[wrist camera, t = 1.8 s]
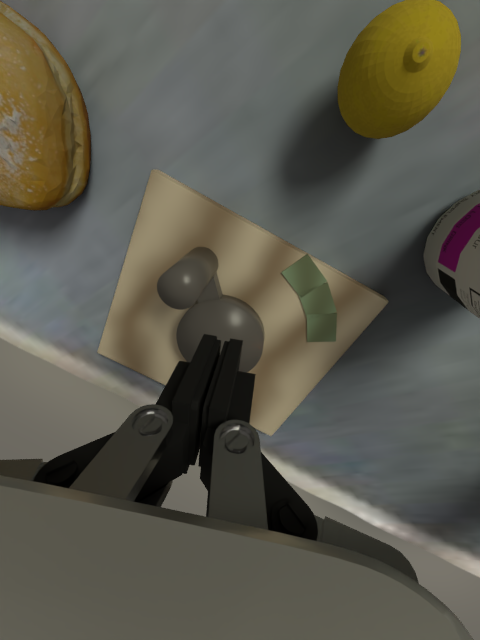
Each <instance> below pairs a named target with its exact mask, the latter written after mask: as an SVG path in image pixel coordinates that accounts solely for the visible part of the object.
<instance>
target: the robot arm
mask: <svg viewBox="0 0 480 640" xmlns="http://www.w3.org/2000/svg"><path fill="white" fill-rule="evenodd" d="M242 345H243V340H237V339H231V338H230V341H225V342H224V345H223V348H222V351H221V354H220V349H221V340H217V336H214V335H208V334H204V335H203V337H202V339H201V341H200V343H199V345H198V347H197V349H196V352H195V354H194V356H193V358H192V360H191V362H185V361H179V362H178V364H177V365H176V367H175V369H174V371H173V373H172V375H171V377H170V378H169V380H168V382H167V384H166V386H165V388H164V390H163V392H162V393H161V395H160V397H159V399H158V401H157V403H156V405H146V406H142V407H140V408H138V409H136V410H135V411H134V412H133V413H132V414H130V416H129V417H128V418H127V419H126V421H125V422H124V423H123V424H122V425H121V427H120V428H119V429H118V430H117V431H116V432H114V433H112V434H110V435H107V436H105V437H102V438H100V439H97V440H95V441H93V442H90V443H88V444H86V445H83V446H81V447H79V448H76V449H74V450H72V451H69V452H67V453H64V454H62V455H60V456H58V457H56V458H54V459H52V460H50V461H49V462H43V460H42V459H23V460H22V459H20V460H0V640H474V639H473V638H472V636H471V635H470V633H469V632H468V631H467V629H466V628H465V626H464V625H463V624H462V622H461V621H460V620H459V619H458V618H457V616H456V615H455V614H454V613H453V612H452V611H451V610H450V609H449V608H448V607H447V606H446V605H445V604H444V603H443V602H441V601H440V600H439V599H438V598H437V597H435V596H434V595H433V594H432V593H431V592H429V591H428V590H427V589H425V588H424V587H422V586H421V585H420V584H419V583H418V579H417V576H416V573H415V571H414V569H413V568H412V566H411V564H410V562H409V561H408V560H407V559H406V558H405V557H404V555H403V554H402V553H401V552H400V551H398V550H396V549H395V548H393V547H392V546H390V545H388V544H386V543H383V542H381V541H379V540H377V539H374V538H372V537H370V536H368V535H366V534H363V533H361V532H359V531H357V530H355V529H352V528H350V527H348V526H346V525H343V524H341V523H339V522H337V521H335V520H332V519H330V518H328V517H325V519H322V518H320V517H318V516H315V515H314V514H313V512H312V511H311V509H310V508H309V506H308V505H307V504H306V503H305V502H304V501H303V500H302V498H301V497H300V496H299V495H298V494H297V493H296V492H295V490H294V489H293V488H292V487H291V486H290V485H289V484H288V482H287V481H286V480H285V479H284V478H283V477H282V475H281V474H280V473H279V472H278V471H277V470H276V469H275V467H274V466H273V465H272V464H271V463H270V462H269V461H268V459H267V458H266V457H265V456H264V455H263V454H262V453H261V449H260V439H259V435H258V433H257V431H256V430H255V428H254V427H253V426H251V425H250V424H249V423H250V415H251V407H252V399H253V391H254V383H255V375H256V374H253V373H247V372H241V371H239V365H240V358H241V352H242ZM199 449H200V455H199V466H200V467H201V473H200V479H201V481H202V482H203V484H204V485H205V487H206V489H207V490H208V499H207V512H206V517H204V516H200V515H194V514H190V513H185V512H180V511H175V510H171V509H166V508H161V505H162V503H163V502H164V500H165V498H166V496H167V494H168V492H169V490H170V488H171V485H172V481H173V480H174V479H176V478H177V477H179V476H181V475H182V473H184V474H186V473H187V470H188V467H189V465H195V462H196V459H197V455H198V452H199Z"/></svg>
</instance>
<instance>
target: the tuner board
mask: <svg viewBox="0 0 480 640" xmlns="http://www.w3.org/2000/svg"><path fill="white" fill-rule="evenodd" d="M196 247H206V248H209V249H210V250H212V251H213V252H214V253H215V255H216V256H217V259H218V269H217V276H218V279H219V283H220V287H221V290H222V294H223V295H229V296H233V297H236V298H238V299H240V300H242V301H244V302H246V303H247V304H248V305H250V306H251V307H252V308H253V309H254V310H255V311H256V312H257V314H258V315H259V317H260V319H261V321H262V323H263V326H264V332H265V338H264V345H263V352H262V355H261V358H260V360H259V362H258V363H257V364H256V366H255V367H254V368H253V369H251V370H250V371H249V372H247V373H253V374H256V375H255V383H254V391H253V399H252V407H251V415H250V423H249V424H250V425H251V426H253V427H254V428H255V429H257V430H259V431H262V432H264V433H266V434H268V435H270V436H272V435H273V434H274V432H275V431H276V430H277V429H278V428H279V427H280V426H281V424H282V423H283V422H284V421H285V420H286V419H287V418H288V416H289V415H290V414H291V413H292V412H293V411H294V410H295V408H296V407H297V406H298V405H299V404H300V403H301V402H302V400H303V399H304V398H305V397H306V396H307V395H308V394H309V392H310V391H311V390H312V389H313V388H314V387H315V386H316V384H317V383H318V382H319V381H320V380H321V379H322V378H323V376H324V375H325V374H326V373H327V372H328V371H329V370H330V369H331V367H332V366H333V365H334V364H335V363H336V362H337V361H338V359H339V358H340V357H341V356H342V355H343V354H344V353H345V351H346V350H347V349H348V348H349V347H350V346H351V345H352V343H353V342H354V341H355V340H356V339H357V338H358V337H359V335H360V334H361V333H362V332H363V331H364V330H365V329H366V327H367V326H368V325H369V324H370V323H371V322H372V321H373V319H374V318H375V317H376V316H377V315H378V314H379V313H380V311H381V310H382V309H383V308H384V307H385V306H386V305H387V303H388V300H387V299H386V298H385V296H383V295H381V294H379V293H377V292H376V291H374V290H372V289H370V288H368V287H367V286H365V285H363V284H361V283H359V282H358V281H356V280H354V279H352V278H351V277H349V276H347V275H345V274H343V273H342V272H340V271H338V270H336V269H334V268H333V267H331V266H329V265H327V264H326V263H324V262H322V261H320V260H318V259H317V258H315V257H313V256H311V255H309V254H308V253H306V252H304V251H302V250H300V249H299V248H297V247H295V246H293V245H292V244H290V243H288V242H286V241H284V240H283V239H281V238H279V237H277V236H275V235H274V234H272V233H270V232H268V231H267V230H265V229H263V228H261V227H259V226H258V225H256V224H254V223H252V222H250V221H249V220H247V219H245V218H243V217H241V216H240V215H238V214H236V213H234V212H233V211H231V210H229V209H227V208H225V207H224V206H222V205H220V204H218V203H216V202H215V201H213V200H211V199H209V198H208V197H206V196H204V195H202V194H200V193H199V192H197V191H195V190H193V189H191V188H190V187H188V186H186V185H184V184H183V183H181V182H179V181H177V180H175V179H174V178H172V177H170V176H168V175H166V174H165V173H163V172H161V171H159V170H152V171H151V174H150V178H149V181H148V184H147V188H146V191H145V194H144V198H143V201H142V204H141V208H140V211H139V215H138V218H137V221H136V225H135V228H134V231H133V235H132V238H131V241H130V245H129V248H128V251H127V255H126V258H125V261H124V265H123V268H122V272H121V275H120V278H119V282H118V285H117V288H116V292H115V295H114V298H113V302H112V305H111V308H110V312H109V315H108V318H107V322H106V325H105V329H104V332H103V335H102V339H101V342H100V345H99V349H98V352H97V353H99V354H101V355H104V356H106V357H108V358H110V359H112V360H114V361H116V362H118V363H120V364H122V365H124V366H126V367H128V368H131V369H133V370H135V371H137V372H139V373H141V374H143V375H145V376H147V377H149V378H151V379H153V380H156V381H158V382H160V383H162V384H164V385H166V384H167V382H168V380H169V378H170V377H171V375H172V373H173V371H174V369H175V367H176V365H177V364H178V362H179V361H185V362H187V361H186V360H185V358H184V357H183V356H182V354H181V352H180V350H179V348H178V344H177V339H176V333H177V327H178V324H179V322H180V320H181V319H182V317H183V316H184V314H185V313H186V312H187V310H188V309H189V308H187V309H183V310H178V309H174V308H171V307H169V306H168V305H166V304H165V303H164V302H163V301H162V300H161V298H160V297H159V294H158V291H157V282H158V279H159V278H160V276H161V275H162V274H163V273H164V272H166V271H167V270H168V269H169V268H170V267H172V266H173V265H174V264H175V263H176V262H178V261H179V260H180V259H181V258H182V257H184V256H185V255H186V254H187V253H188V252H190V251H191V250H192V249H194V248H196Z"/></svg>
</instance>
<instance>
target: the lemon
mask: <svg viewBox="0 0 480 640" xmlns="http://www.w3.org/2000/svg"><path fill="white" fill-rule="evenodd" d="M460 52H461V34H460V30H459V26H458V22H457V20H456V18H455V17H454V15H453V14H452V12H451V10H450V9H449V8H447V7H446V6H445V5H444V4H442V3H441V2H439V1H436V0H405V1H403V2H400V3H397V4H395V5H392V6H391V7H389V8H388V9H386V10H385V11H383V12H382V13H381V14H379V15H378V16H376V17H375V18H374V19H373V20H372V21H371V22H370V23H369V24H368V25H367V26H366V27H365V28H364V29H363V31H362V32H361V33H360V34H359V35H358V37H357V38H356V40H355V41H354V43H353V44H352V46H351V48H350V49H349V51H348V53H347V55H346V58H345V60H344V63H343V65H342V68H341V71H340V76H339V82H338V104H339V108H340V112H341V115H342V117H343V119H344V120H345V122H346V124H347V125H348V126H349V127H350V128H351V129H352V130H353V131H354V132H355V133H358V134H360V135H362V136H364V137H368V138H375V139H380V138H387V137H393V136H395V135H397V134H400V133H402V132H405V131H407V130H408V129H410V128H411V127H413V126H414V125H416V124H417V123H418V122H420V121H421V120H423V119H424V118H425V117H426V116H427V115H428V114H429V113H430V111H431V110H432V109H433V108H434V107H435V106H436V105H437V104H438V103H439V101H440V100H441V98H442V97H443V95H444V94H445V92H446V91H447V89H448V88H449V86H450V84H451V81H452V79H453V77H454V74H455V72H456V70H457V65H458V61H459V56H460Z"/></svg>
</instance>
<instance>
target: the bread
mask: <svg viewBox="0 0 480 640" xmlns="http://www.w3.org/2000/svg"><path fill="white" fill-rule="evenodd" d="M90 161H91V134H90V128H89V119H88V113H87V109H86V105H85V102H84V99H83V96H82V93H81V91H80V89H79V87H78V85H77V83H76V80H75V78H74V76H73V74H72V72H71V70H70V68H69V67H68V65H67V63H66V62H65V60H64V59H63V57H62V56H61V55H60V53H59V52H58V51H57V49H56V48H55V47H54V45H53V44H52V43H51V42H50V41H49V39H48V38H47V37H46V36H45V35H44V34H43V33H42V32H41V31H40V30H39V29H38V28H37V27H36V26H35V25H33V24H32V23H31V22H29V21H28V20H27V19H25V18H24V17H23V16H21V15H20V14H19V13H17V12H16V11H15V10H13V9H12V8H11V7H9V6H8V5H6V4H5V3H3V2H1V1H0V205H3V206H7V207H13V208H19V209H27V210H48V209H50V208H52V207H62V206H66V205H68V204H70V203H71V202H72V201H74V200H75V199H76V198H77V197H78V196H80V195H81V194H82V193H83V191H84V189H85V187H86V185H87V183H88V177H89V171H90Z"/></svg>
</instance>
